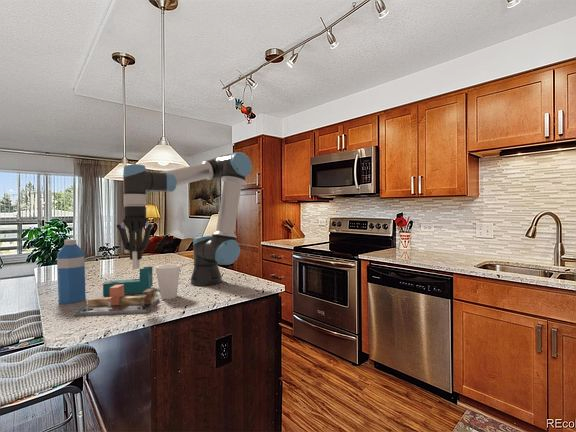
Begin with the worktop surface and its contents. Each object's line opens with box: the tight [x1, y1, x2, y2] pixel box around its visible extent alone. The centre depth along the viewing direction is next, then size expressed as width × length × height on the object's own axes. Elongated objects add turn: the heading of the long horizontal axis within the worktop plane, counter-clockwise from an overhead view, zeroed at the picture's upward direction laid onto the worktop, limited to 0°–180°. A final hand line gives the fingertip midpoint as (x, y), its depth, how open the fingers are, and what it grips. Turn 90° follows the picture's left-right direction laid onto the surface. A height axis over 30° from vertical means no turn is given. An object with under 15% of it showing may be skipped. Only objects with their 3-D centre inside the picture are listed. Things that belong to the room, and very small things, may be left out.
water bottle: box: [56, 238, 87, 305], centre depth 128 cm, size 9×9×25 cm
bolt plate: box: [74, 298, 160, 317], centre depth 116 cm, size 24×14×1 cm, turn 95°
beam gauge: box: [87, 287, 155, 307], centre depth 115 cm, size 23×9×5 cm, turn 95°
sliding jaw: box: [107, 284, 125, 308], centre depth 115 cm, size 3×9×6 cm, turn 5°
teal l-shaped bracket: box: [102, 266, 154, 297], centre depth 141 cm, size 18×11×10 cm, turn 105°
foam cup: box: [155, 263, 181, 300], centre depth 130 cm, size 10×9×13 cm
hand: (136, 268), depth 117 cm, fingers closed
